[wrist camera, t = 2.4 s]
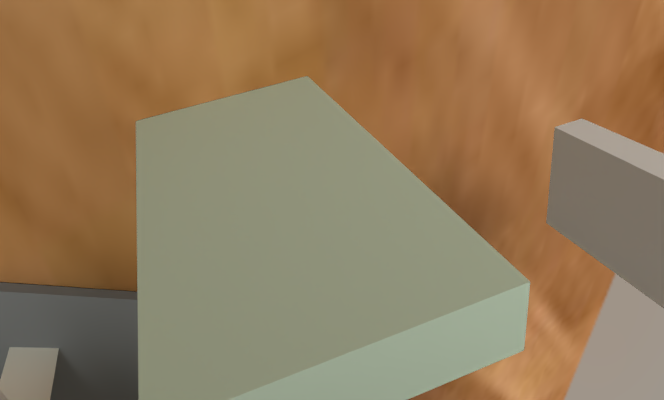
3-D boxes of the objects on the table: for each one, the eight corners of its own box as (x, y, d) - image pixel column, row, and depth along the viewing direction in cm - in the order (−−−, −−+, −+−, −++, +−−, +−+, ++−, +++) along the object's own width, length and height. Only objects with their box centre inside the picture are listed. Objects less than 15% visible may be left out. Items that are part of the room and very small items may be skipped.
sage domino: (135, 121, 16) (138, 434, 6) (307, 76, 17) (530, 281, 8) (152, 163, 17) (177, 496, 7) (315, 117, 18) (523, 350, 9)
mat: (-475, 526, 16) (-492, 542, 16) (-593, 240, 12) (-619, 252, 12) (292, 460, 28) (295, 468, 28) (362, 307, 24) (366, 314, 24)
